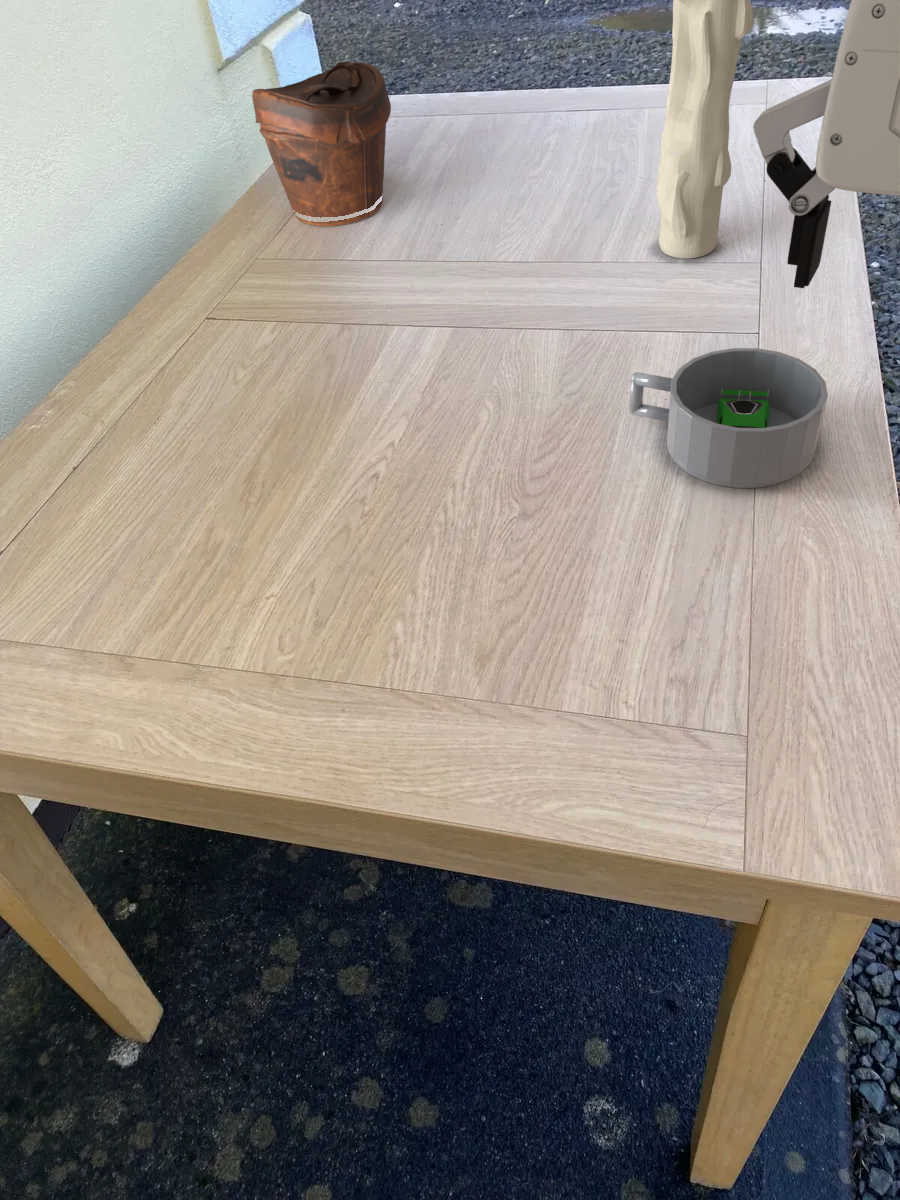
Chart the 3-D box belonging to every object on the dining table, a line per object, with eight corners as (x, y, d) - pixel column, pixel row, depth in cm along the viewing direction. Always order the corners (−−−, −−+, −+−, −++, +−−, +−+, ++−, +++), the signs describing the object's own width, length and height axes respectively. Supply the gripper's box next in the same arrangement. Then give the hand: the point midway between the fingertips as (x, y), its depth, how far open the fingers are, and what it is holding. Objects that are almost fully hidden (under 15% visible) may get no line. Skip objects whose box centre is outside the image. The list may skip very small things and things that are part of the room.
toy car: (766, 475, 79) (770, 454, 78) (710, 471, 80) (713, 450, 79) (768, 409, 86) (771, 389, 84) (716, 407, 87) (718, 386, 85)
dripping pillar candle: (736, 251, 109) (773, -49, 88) (677, 272, 107) (700, -30, 86) (693, 227, 115) (718, -60, 94) (636, 246, 113) (648, -43, 92)
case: (412, 176, 137) (394, 41, 124) (392, 234, 123) (369, 89, 110) (298, 184, 139) (269, 52, 127) (265, 242, 126) (229, 101, 113)
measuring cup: (829, 418, 85) (842, 361, 80) (793, 502, 77) (805, 444, 73) (652, 385, 92) (655, 331, 87) (603, 459, 84) (605, 404, 80)
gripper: (758, -74, 39) (719, 299, 51) (1256, -88, 32) (1073, 348, 44) (803, -110, 43) (756, 241, 55) (1249, -129, 36) (1085, 278, 48)
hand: (897, 288), depth 50 cm, fingers open, 9 cm apart
